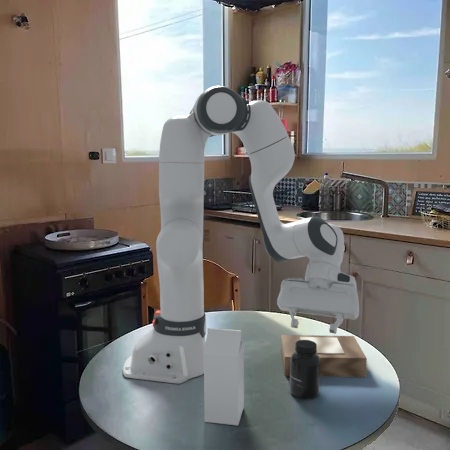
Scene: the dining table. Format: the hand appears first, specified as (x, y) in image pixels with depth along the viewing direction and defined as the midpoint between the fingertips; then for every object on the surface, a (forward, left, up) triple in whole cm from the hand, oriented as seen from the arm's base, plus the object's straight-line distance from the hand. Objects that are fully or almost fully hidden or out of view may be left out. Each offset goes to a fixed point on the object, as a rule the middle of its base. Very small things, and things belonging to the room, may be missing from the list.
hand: (313, 329), depth 111 cm
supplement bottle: (-3, -7, -13) cm, 15 cm away
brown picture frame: (+3, +8, -12) cm, 15 cm away
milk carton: (-21, -17, -13) cm, 30 cm away
